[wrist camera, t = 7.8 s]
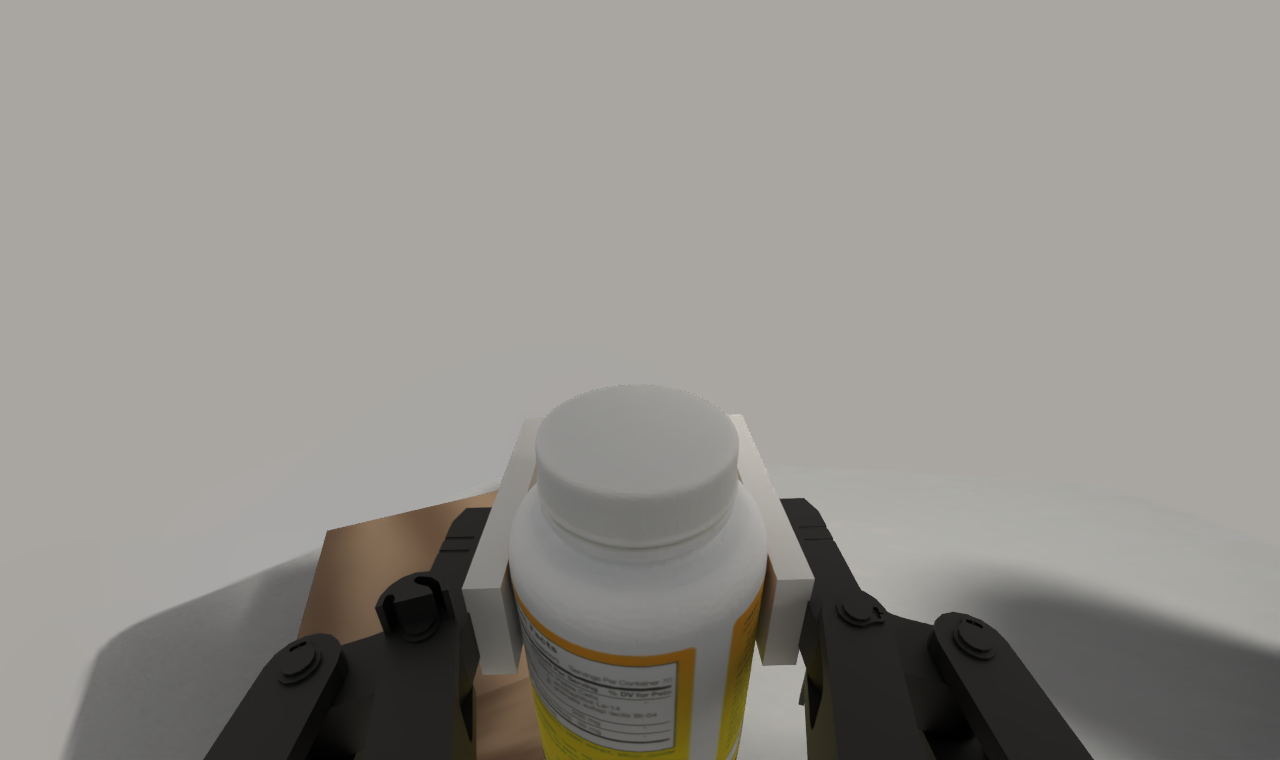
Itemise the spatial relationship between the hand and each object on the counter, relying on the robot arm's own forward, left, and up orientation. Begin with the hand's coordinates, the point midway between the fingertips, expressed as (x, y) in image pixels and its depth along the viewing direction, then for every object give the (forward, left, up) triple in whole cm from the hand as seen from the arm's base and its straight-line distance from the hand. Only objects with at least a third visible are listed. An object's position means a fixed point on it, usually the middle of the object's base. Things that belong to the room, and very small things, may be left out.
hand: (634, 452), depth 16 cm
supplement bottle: (+2, +5, -6) cm, 8 cm away
